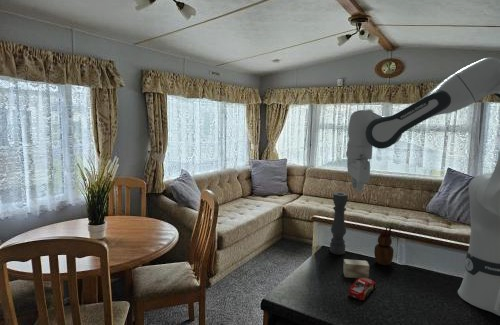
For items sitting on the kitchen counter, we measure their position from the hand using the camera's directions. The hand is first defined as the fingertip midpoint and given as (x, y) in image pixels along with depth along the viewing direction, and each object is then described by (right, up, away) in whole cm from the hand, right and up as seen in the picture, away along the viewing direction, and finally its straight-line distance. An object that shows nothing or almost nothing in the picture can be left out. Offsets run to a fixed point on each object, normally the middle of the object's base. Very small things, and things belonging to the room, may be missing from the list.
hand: (356, 190), depth 115 cm
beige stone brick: (-3, -30, -6) cm, 31 cm away
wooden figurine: (+12, -29, +4) cm, 32 cm away
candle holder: (-3, -28, +15) cm, 32 cm away
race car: (-4, -32, -17) cm, 36 cm away
